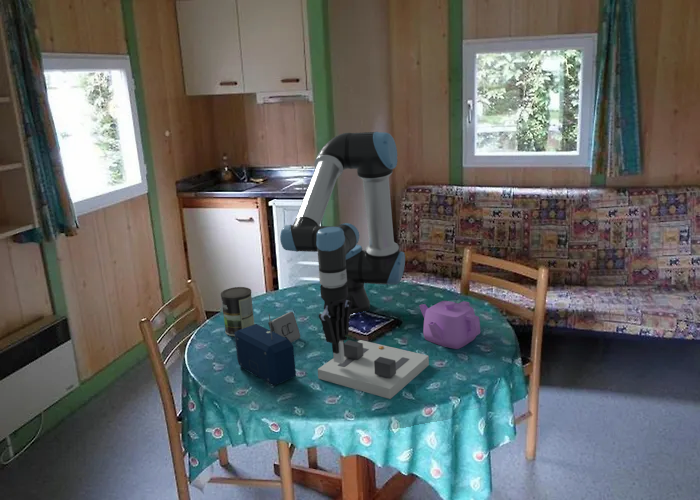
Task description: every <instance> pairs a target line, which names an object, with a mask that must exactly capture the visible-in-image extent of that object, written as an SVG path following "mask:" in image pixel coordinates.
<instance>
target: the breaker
mask: <svg viewBox="0 0 700 500" xmlns="http://www.w3.org/2000/svg"><path fill="white" fill-rule="evenodd" d="M374 367H375V374H376V375H380V376H384V377H388V378H391V377H393V376H394V375H395V374H396V362H395V360H392V359H388V358H383V357H379V358H377V359H376V360H375V361H374Z"/></svg>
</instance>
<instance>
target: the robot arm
mask: <svg viewBox="0 0 700 500" xmlns="http://www.w3.org/2000/svg"><path fill="white" fill-rule="evenodd" d="M395 141H396V140H395V139H394V137H393V136H392V135H391V133H390V132H379V131H369V132H366V131H365V132H345V133H344V132H343V133H341V134H338V135H336V136H334V137H333V138H332V139H330V140H329V141H327V143H325V145H323V147H321V149H320V150H319V152H318V154H317V155H316V158H315V160H314V168H315V169H314V171H313V174H312V176H311V179H310V181H309V183H308V186H307V189H306V192H305V195H304V197H303V198H302V202H301V205H300V207H299V209H298V213H297V215H296V217H295V220H294V222H293V223H292V224H287V225H284V227H282V229H281V231H280V245H281V247H282V249H284V250H285V251H290V252H313V253H317V259H318V263H317V264H318V277H319V283H320V286H319V287H320V297H321V299H322V300H323V302H324V305H323V312H322V313H319V314H318V318H319V320H320V321H321V325H322V330H323V333H324V337H325V340H326V342H327V343H329V344H331V346H332V347H331V348H332V350H331V351H332V353H333V355H332V356H333V358H334V362H337V363H341V364H342V363H343V362H345V359H344V343H345V341H346V340H347V341H348V337H347V336H348V334H349V328H350V317H351V316H350V314H353V313H358V312H363V311H366V312H365V313H367V312H368V311H369V310H370V309H371V304H370V302H371V301H370V299H369V296H368V294H367V291H366V289H365V284H371V285H372V284H374V285H387V286H388V285H398V284H399V283H400V282H401V281H402V278H403V275H404V270H405V263H406V255H405V254H406V253H405V252H404V251H400V245H399V244H398V243H396V242H395V238H394V228H393V227H394V226H393V216H392V215H393V214H392V212H393V211H392V204H391V203H392V202H391V191H390V180H389V179H390V176H392V174H393V172H394V171H393V170H394V169H395V168H396V167H397V165H398V150H397V145H396V142H395ZM348 169H350V170H356V172H357V176H358V178H359V179H361V180H362V185H363V193H364V194H363V196H364V205H365V206H364V207H365V215H366V226H367V235H368V245H367V246H366V247H365V249H363V247H362V246H361V245H360V244H358V243H359V240H360V231H359V230H358V228H357V226H355V225H354V224H352V223H349V222H346V223H344V222H343V223H341V224H339V225H336V226H333V225H331V226H329V225H326V226H325V225H321V223H322V221H323V218H324V215H325V212H326V209H327V207H328V205H329V201H330V199H331V197H332V193H333V191H334V188H335V185H336V182H337V180H338V178H339V177H340V176H342V174H343V172H344V170H348Z"/></svg>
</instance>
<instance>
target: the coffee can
mask: <svg viewBox="0 0 700 500" xmlns="http://www.w3.org/2000/svg"><path fill="white" fill-rule="evenodd" d="M252 297H253V296H252V289H251V288H249V287H245V286H235V287H230V288H227V289H224V290H223V291H221V293H220V298H221V305H222V313H223V322H224V330H225V334H226V335H227V336H230V337H235V335H234V332H236V331H238V330H241V329H243V328H246V327H249V326H252V325H254V324H255V317H254V307H253V299H252Z"/></svg>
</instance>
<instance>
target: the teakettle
mask: <svg viewBox="0 0 700 500" xmlns="http://www.w3.org/2000/svg"><path fill="white" fill-rule="evenodd" d="M470 305H471V304H470V302H469V301H466V300H463V301H461V302H459V303H458V302H454V301H450V300H449V301H448V300H442V301H439V302H437V303H436V304H434V305H432V306H430V307H428V306H427V304H423V303H422V304H419V305H418V307H419V309H420V312H421V314H422V317H423V318H424V320H423V331H422V333H423V337H424V340H425V341H427V342H429V343H432V344H435V345H438V346H441V347H445V348H450V349H453V350H459V349H461V348H464V347H465V346H467V345H469V344H470V343H471V342H473V341H475V339H476V338H477V336H479V335H480V334H481V323H480V316H478V315H476V313H475V310H474V308H473V307H472V306H470Z"/></svg>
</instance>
